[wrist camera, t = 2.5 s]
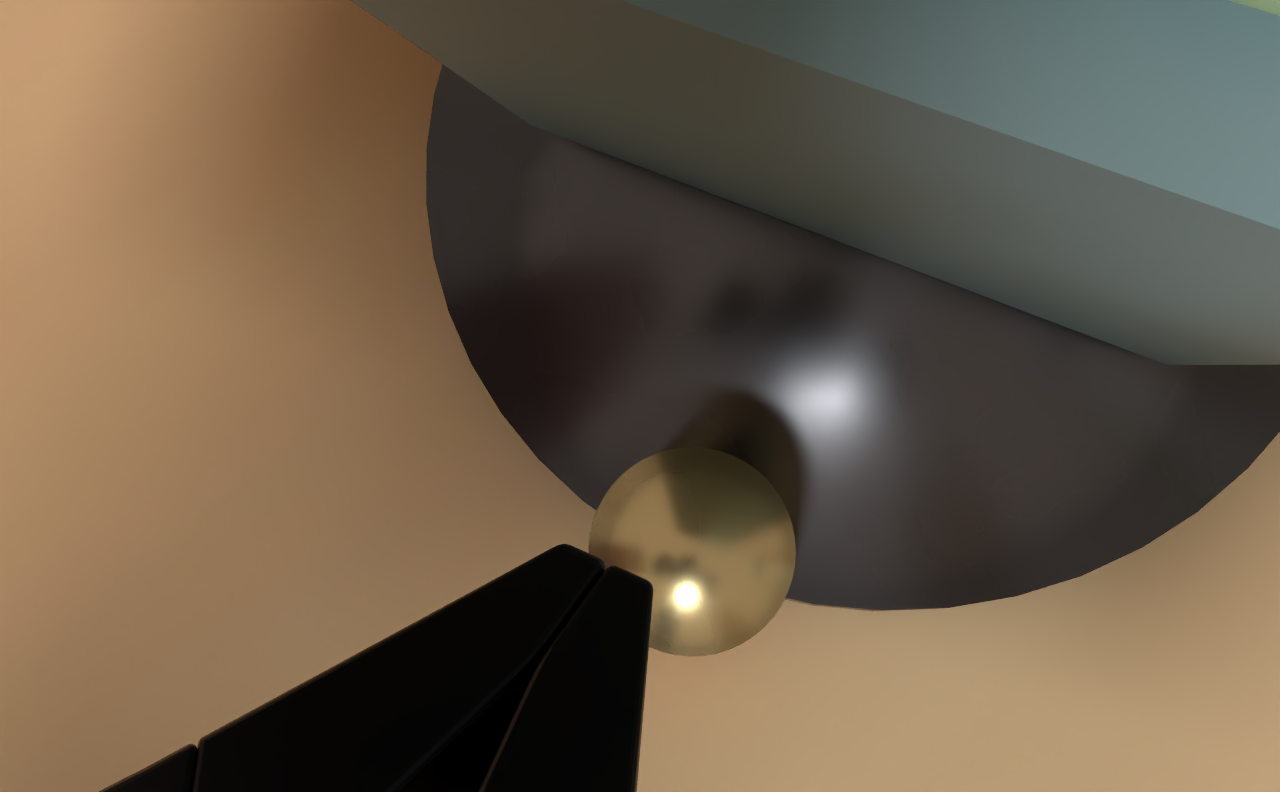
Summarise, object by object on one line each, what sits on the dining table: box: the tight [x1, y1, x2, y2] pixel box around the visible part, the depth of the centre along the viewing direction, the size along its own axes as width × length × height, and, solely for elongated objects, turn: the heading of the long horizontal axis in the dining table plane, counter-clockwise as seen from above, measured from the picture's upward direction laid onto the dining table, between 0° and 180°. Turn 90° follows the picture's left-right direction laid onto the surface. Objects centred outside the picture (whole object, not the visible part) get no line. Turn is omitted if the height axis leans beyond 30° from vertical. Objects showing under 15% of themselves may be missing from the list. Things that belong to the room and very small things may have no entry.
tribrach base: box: [427, 65, 1280, 656], centre depth 17 cm, size 15×15×2 cm
